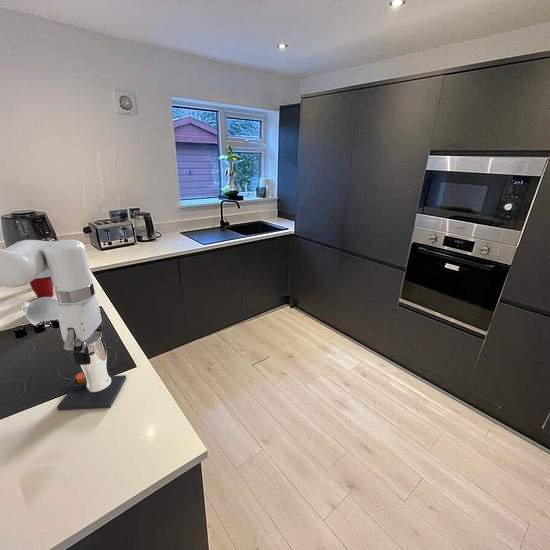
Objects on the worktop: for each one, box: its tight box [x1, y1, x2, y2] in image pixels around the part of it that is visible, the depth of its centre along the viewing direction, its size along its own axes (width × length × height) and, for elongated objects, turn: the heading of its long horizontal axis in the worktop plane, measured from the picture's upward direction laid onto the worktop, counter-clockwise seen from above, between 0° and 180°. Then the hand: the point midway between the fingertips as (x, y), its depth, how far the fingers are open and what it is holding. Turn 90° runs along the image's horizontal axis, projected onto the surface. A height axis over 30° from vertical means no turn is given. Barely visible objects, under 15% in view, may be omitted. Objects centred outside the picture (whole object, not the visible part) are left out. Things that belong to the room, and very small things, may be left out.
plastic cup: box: [29, 270, 54, 299], centre depth 133 cm, size 11×11×12 cm
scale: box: [56, 374, 127, 412], centre depth 80 cm, size 14×12×3 cm
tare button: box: [75, 371, 86, 383], centre depth 82 cm, size 3×3×2 cm
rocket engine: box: [20, 297, 59, 328], centre depth 116 cm, size 12×12×18 cm
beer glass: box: [76, 331, 112, 392], centre depth 76 cm, size 7×7×15 cm
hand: (91, 353), depth 75 cm, fingers closed on beer glass, 7 cm apart
